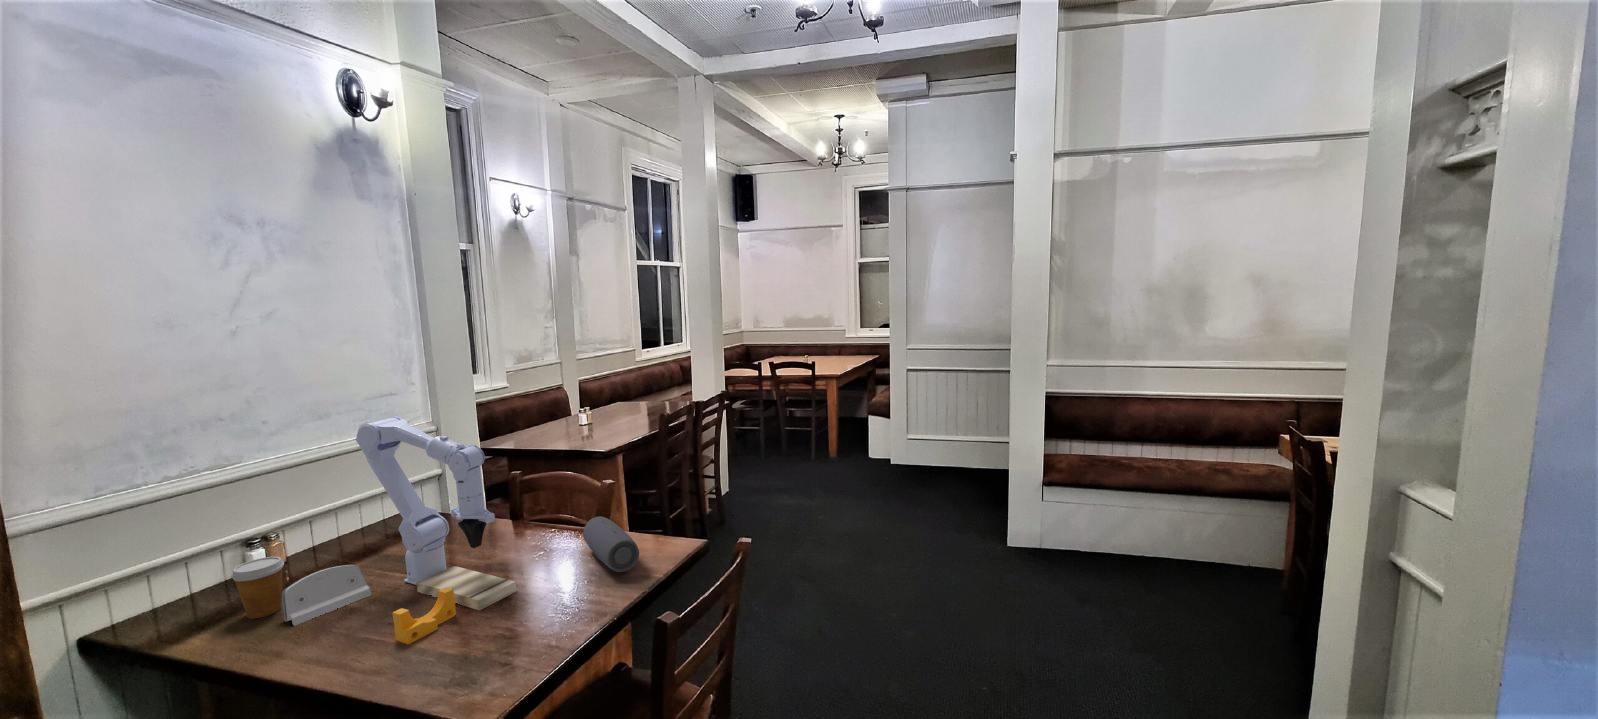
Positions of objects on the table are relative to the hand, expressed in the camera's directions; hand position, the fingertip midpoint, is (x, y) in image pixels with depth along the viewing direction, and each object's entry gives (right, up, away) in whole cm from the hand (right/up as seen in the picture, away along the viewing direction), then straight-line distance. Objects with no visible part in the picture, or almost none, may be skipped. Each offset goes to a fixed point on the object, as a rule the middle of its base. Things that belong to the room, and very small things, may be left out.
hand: (476, 546), depth 157 cm
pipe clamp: (+1, -12, -21) cm, 24 cm away
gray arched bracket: (-32, -12, -8) cm, 35 cm away
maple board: (0, -10, -4) cm, 11 cm away
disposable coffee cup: (-46, -13, -10) cm, 48 cm away
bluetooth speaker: (+32, -7, +9) cm, 34 cm away
